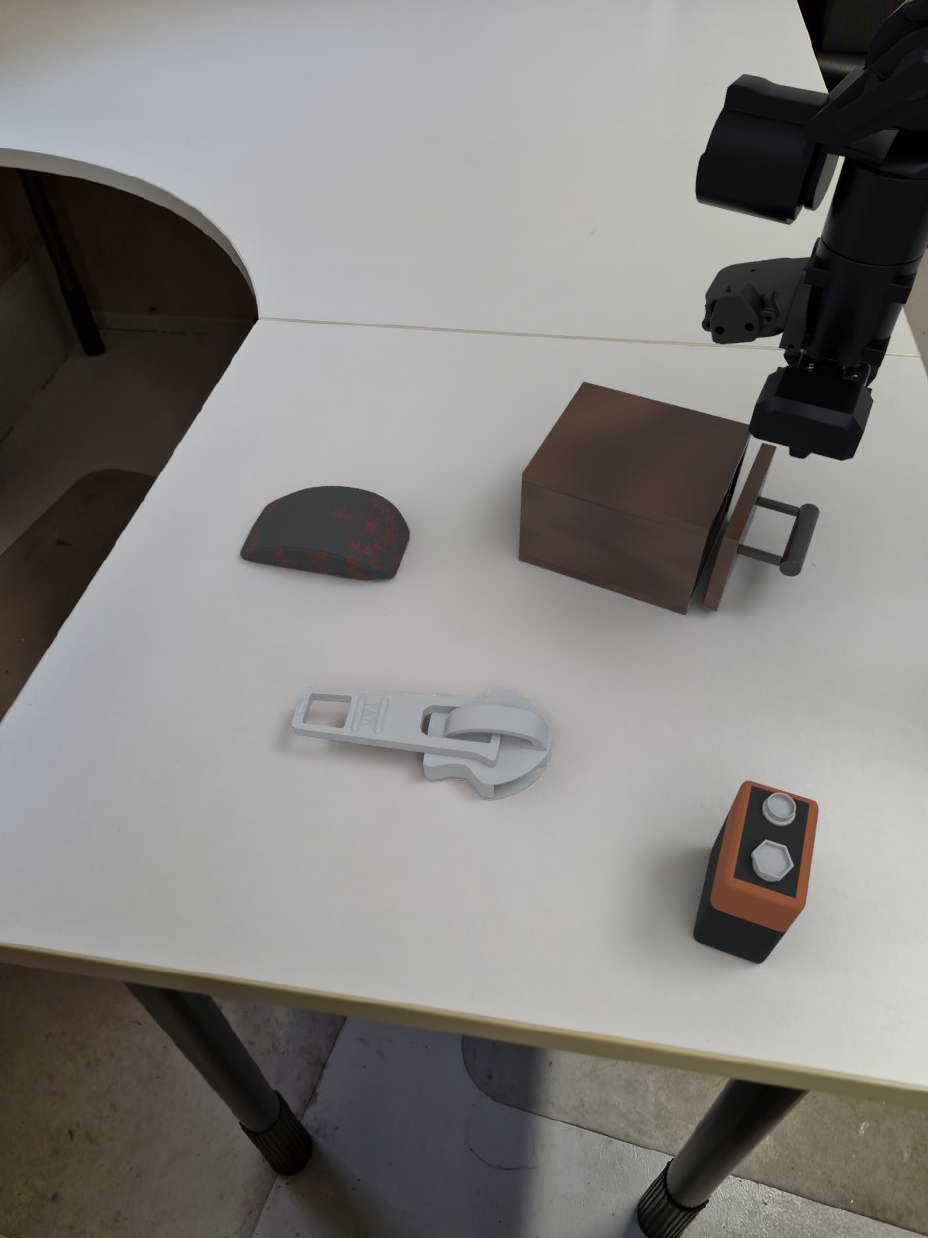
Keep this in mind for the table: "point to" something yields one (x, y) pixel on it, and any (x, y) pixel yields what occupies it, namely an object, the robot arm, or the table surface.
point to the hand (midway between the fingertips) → (797, 454)
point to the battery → (757, 872)
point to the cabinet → (630, 494)
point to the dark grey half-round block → (330, 533)
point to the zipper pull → (445, 734)
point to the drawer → (741, 523)
